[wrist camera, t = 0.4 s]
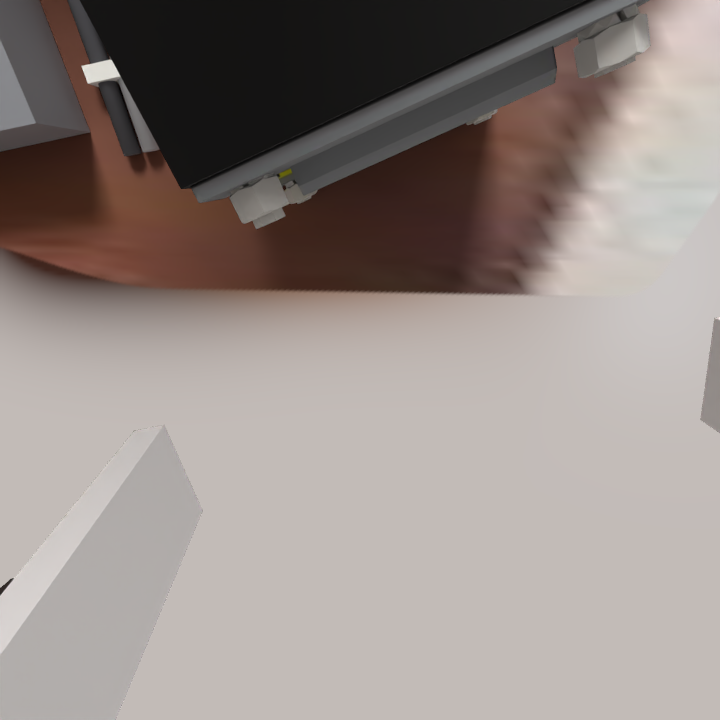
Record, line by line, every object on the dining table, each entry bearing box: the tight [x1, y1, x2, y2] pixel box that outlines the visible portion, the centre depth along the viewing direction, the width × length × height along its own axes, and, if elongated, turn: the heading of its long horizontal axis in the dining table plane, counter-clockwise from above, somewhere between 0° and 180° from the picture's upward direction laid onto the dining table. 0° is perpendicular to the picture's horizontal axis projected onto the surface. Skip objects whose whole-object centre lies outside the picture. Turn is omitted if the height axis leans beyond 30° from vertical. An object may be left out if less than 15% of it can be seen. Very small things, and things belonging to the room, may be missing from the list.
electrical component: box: [80, 0, 651, 229], centre depth 22 cm, size 18×10×20 cm, turn 112°
